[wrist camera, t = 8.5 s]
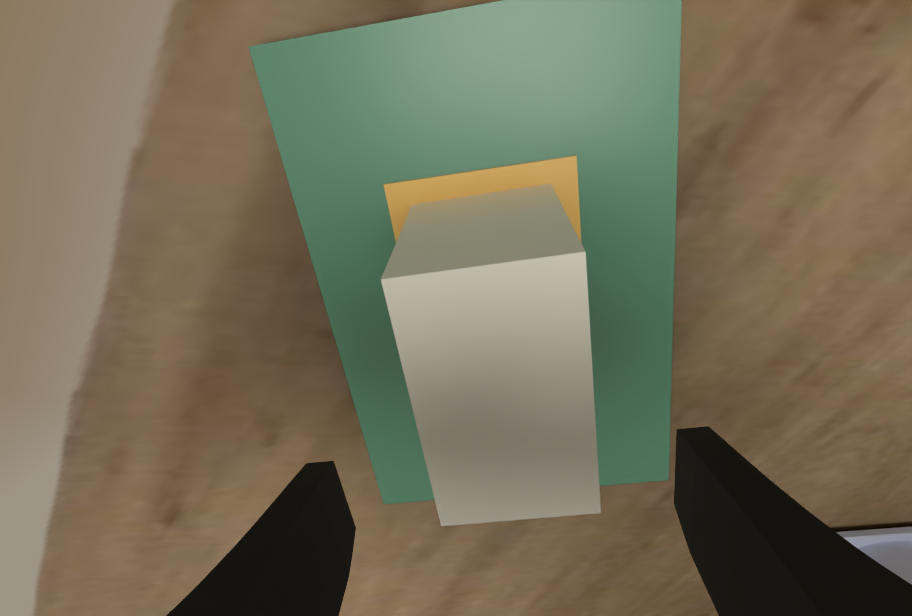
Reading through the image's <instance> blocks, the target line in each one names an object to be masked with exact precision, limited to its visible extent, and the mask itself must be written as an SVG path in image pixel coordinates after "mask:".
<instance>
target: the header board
mask: <svg viewBox="0 0 912 616" xmlns="http://www.w3.org/2000/svg"><path fill="white" fill-rule="evenodd" d="M681 7H682V0H502V1H497V2H491V3H486V4H480V5H475V6H469V7H464V8H459V9H453V10H448V11H442V12H437V13H431V14H426V15H420V16H415V17H409V18H404V19H398V20H393V21H387V22H382V23H376V24H371V25H365V26H360V27H354V28H349V29H343V30H338V31H332V32H327V33H321V34H316V35H310V36H305V37H299V38H294V39H288V40H283V41H277V42H272V43H266V44H261V45H255V46H250V47H249V50H250V53H251V56H252V60H253V63H254V66H255V70H256V73H257V77H258V80H259V83H260V87H261V90H262V94H263V97H264V100H265V104H266V107H267V110H268V114H269V117H270V121H271V124H272V127H273V131H274V134H275V138H276V141H277V144H278V148H279V151H280V155H281V158H282V161H283V165H284V168H285V171H286V175H287V178H288V182H289V185H290V188H291V192H292V195H293V199H294V202H295V205H296V209H297V212H298V216H299V219H300V222H301V226H302V229H303V232H304V236H305V239H306V243H307V246H308V249H309V253H310V256H311V260H312V263H313V266H314V270H315V273H316V276H317V280H318V283H319V287H320V290H321V293H322V297H323V300H324V304H325V307H326V310H327V314H328V317H329V321H330V324H331V327H332V331H333V334H334V337H335V341H336V344H337V348H338V351H339V354H340V358H341V361H342V365H343V368H344V371H345V375H346V378H347V382H348V385H349V388H350V392H351V395H352V398H353V402H354V405H355V409H356V412H357V415H358V419H359V422H360V426H361V429H362V432H363V436H364V439H365V442H366V446H367V449H368V453H369V456H370V459H371V463H372V466H373V470H374V473H375V476H376V480H377V483H378V487H379V490H380V493H381V497H382V500H383V503H384V504H391V503H403V502H415V501H427V500H435V499H434V495H433V491H432V487H431V482H430V478H429V474H428V470H427V466H426V462H425V458H424V454H423V450H422V446H421V442H420V437H419V433H418V429H417V425H416V421H415V417H414V413H413V409H412V405H411V401H410V397H409V393H408V388H407V384H406V380H405V376H404V372H403V368H402V364H401V360H400V356H399V352H398V348H397V344H396V339H395V335H394V331H393V327H392V323H391V319H390V315H389V311H388V307H387V303H386V299H385V295H384V290H383V286H382V282H381V278H382V275H383V273H384V271H385V268H386V266H387V263H388V261H389V259H390V256H391V254H392V251H393V249H394V247H395V244H396V242H397V239H398V237H399V235H400V232H401V230H402V227H403V225H404V223H405V220H406V218H407V216H408V213H409V211H410V208H411V206H412V204H418V203H424V202H431V201H438V200H444V199H451V198H458V197H464V196H471V195H478V194H484V193H491V192H497V191H504V190H511V189H517V188H524V187H531V186H537V185H544V184H550V183H551V184H552V186H553V188H554V190H555V192H556V194H557V196H558V198H559V200H560V202H561V204H562V206H563V208H564V210H565V212H566V214H567V216H568V218H569V220H570V222H571V224H572V226H573V228H574V230H575V232H576V234H577V236H578V238H579V240H580V242H581V244H582V245H583V247H584V249H585V251H586V267H587V284H588V301H589V318H590V336H591V353H592V370H593V387H594V404H595V421H596V438H597V455H598V472H599V486H605V485H616V484H628V483H640V482H652V481H664V480H669V449H670V413H671V376H672V339H673V302H674V265H675V228H676V192H677V155H678V118H679V81H680V44H681Z"/></svg>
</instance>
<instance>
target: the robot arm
mask: <svg viewBox="0 0 912 616" xmlns="http://www.w3.org/2000/svg"><path fill="white" fill-rule="evenodd" d="M674 505H675V508H676V511H677V514H678V517H679V520H680V524H681V527H682V530H683V533H684V536H685V539H686V542H687V545H688V547H689V550H690V553H691V555H692V558H693V560H694V562H695V564H696V567H697V569H698V571H699V573H700V575H701V578H702V580H703V582H704V584H705V586H706V589H707V591H708V593H709V595H710V597H711V599H712V602H713V604H714V606H715V608H716V610H717V612H718V614H719V616H912V527H898V528H884V529H870V530H857V531H843V532H835V531H833V530H832V529H831V528H829V527H828V526H827V525H825V524H824V523H823V522H822V521H820V520H819V519H818V518H816V517H815V516H814V515H813V514H811V513H810V512H809V511H807V510H806V509H805V508H804V507H802V506H801V505H800V504H799V503H798V502H796V501H795V500H794V499H793V498H791V497H790V496H789V495H788V494H786V493H785V492H784V491H783V490H781V489H780V488H779V487H778V486H777V485H775V484H774V483H773V482H772V481H771V480H769V479H768V478H767V477H766V476H765V475H764V474H762V473H761V472H760V471H759V470H758V469H757V468H755V467H754V466H753V465H752V464H751V463H750V462H748V461H747V460H746V459H745V458H744V457H743V456H742V455H740V454H739V453H738V452H737V451H736V450H735V449H734V448H732V447H731V446H730V445H729V444H728V443H727V442H726V441H725V440H723V439H722V438H721V437H720V436H719V435H718V434H717V433H715V432H714V431H713V430H712V429H711V428H709V427H697V428H687V429H677V437H676V464H675V491H674ZM355 530H356V527H355V524H354V521H353V518H352V515H351V512H350V509H349V506H348V503H347V500H346V497H345V494H344V491H343V488H342V485H341V482H340V479H339V476H338V473H337V470H336V467H335V464H334V461H327V462H316V463H307V464H306V465H305V466H304V467H303V468H302V469H301V470H300V471H299V473H298V474H297V475H296V476H295V477H294V478H293V480H292V481H291V482H290V483H289V484H288V485H287V487H286V488H285V489H284V490H283V491H282V493H281V494H280V495H279V496H278V497H277V498H276V500H275V501H274V502H273V503H272V504H271V505H270V507H269V508H268V509H267V510H266V511H265V513H264V514H263V515H262V516H261V517H260V518H259V519H258V521H257V522H256V523H255V524H254V525H253V526H252V527H251V529H250V530H249V531H248V532H247V533H246V534H245V535H244V537H243V538H242V539H241V540H240V541H239V542H238V543H237V544H236V545H235V547H234V548H233V549H232V550H231V551H230V552H229V553H228V554H227V555H226V556H225V557H224V558H223V559H222V560H221V561H220V562H219V563H218V565H217V566H216V567H215V568H214V569H213V570H212V571H211V572H210V573H209V574H208V575H207V576H206V577H205V578H204V579H203V580H202V581H201V582H200V584H199V585H198V586H197V587H196V588H195V589H194V590H193V591H192V592H191V593H190V594H189V595H187V596H186V597H185V598H184V599H183V600H182V601H181V602H180V603H179V604H178V605H177V606H176V607H175V608H174V609H173V610H172V611H171V612H170V613H169V614H167V615H166V616H339V612H340V608H341V604H342V600H343V597H344V593H345V589H346V585H347V581H348V577H349V572H350V566H351V559H352V553H353V545H354V538H355Z"/></svg>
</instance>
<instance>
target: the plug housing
mask: <svg viewBox="0 0 912 616" xmlns="http://www.w3.org/2000/svg"><path fill="white" fill-rule="evenodd" d="M381 282H382V286H383V290H384V295H385V299H386V303H387V307H388V311H389V315H390V319H391V323H392V327H393V331H394V335H395V339H396V344H397V348H398V352H399V356H400V360H401V364H402V368H403V372H404V376H405V380H406V384H407V388H408V393H409V397H410V401H411V405H412V409H413V413H414V417H415V421H416V425H417V429H418V433H419V437H420V442H421V446H422V450H423V454H424V458H425V462H426V466H427V470H428V474H429V478H430V482H431V487H432V491H433V495H434V499H435V503H436V507H437V511H438V515H439V519H440V523H441V526H451V525H463V524H475V523H487V522H499V521H510V520H522V519H534V518H546V517H558V516H570V515H582V514H594V513H601V507H600V489H599V472H598V455H597V438H596V421H595V404H594V387H593V370H592V353H591V336H590V318H589V301H588V284H587V267H586V251H585V249H584V247H583V245H582V244H581V242H580V240H579V238H578V236H577V234H576V232H575V230H574V228H573V226H572V224H571V222H570V220H569V218H568V216H567V214H566V212H565V210H564V208H563V206H562V204H561V202H560V200H559V198H558V196H557V194H556V192H555V190H554V188H553V186H552V184H551V183H550V184H544V185H537V186H531V187H524V188H517V189H511V190H504V191H497V192H491V193H484V194H478V195H471V196H464V197H458V198H451V199H444V200H438V201H431V202H424V203H418V204H412V206H411V208H410V211H409V213H408V216H407V218H406V220H405V223H404V225H403V227H402V230H401V232H400V235H399V237H398V239H397V242H396V244H395V247H394V249H393V251H392V254H391V256H390V259H389V261H388V263H387V266H386V268H385V271H384V273H383V275H382V278H381Z"/></svg>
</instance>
